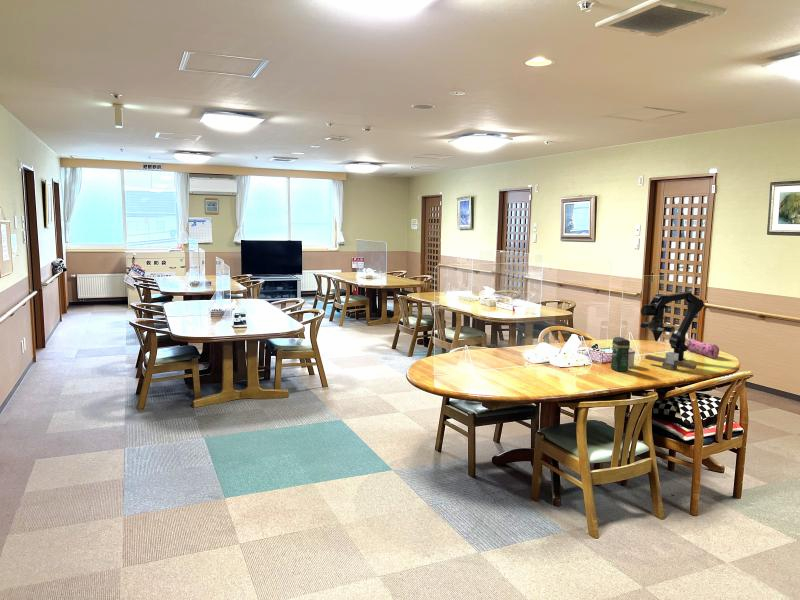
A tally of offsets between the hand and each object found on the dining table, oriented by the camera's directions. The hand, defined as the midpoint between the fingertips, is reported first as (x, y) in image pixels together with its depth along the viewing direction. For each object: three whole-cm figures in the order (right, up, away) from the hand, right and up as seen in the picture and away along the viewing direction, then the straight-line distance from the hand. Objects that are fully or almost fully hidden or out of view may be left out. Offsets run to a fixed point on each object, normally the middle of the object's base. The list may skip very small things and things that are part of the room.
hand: (656, 341), depth 356 cm
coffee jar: (-30, -15, -20) cm, 39 cm away
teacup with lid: (-24, -14, -11) cm, 29 cm away
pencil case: (+37, -10, +19) cm, 42 cm away
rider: (+1, -11, -17) cm, 20 cm away
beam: (+1, -15, -16) cm, 21 cm away
